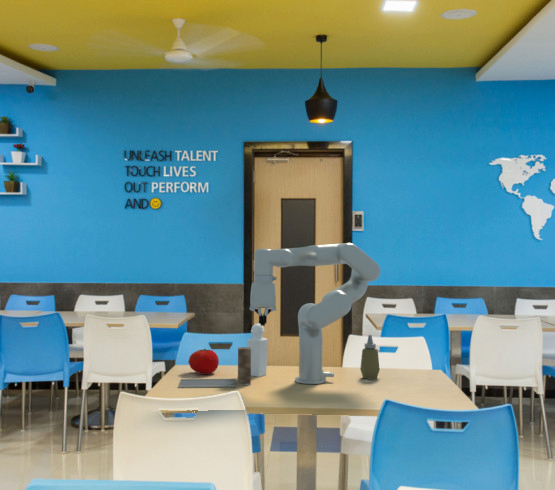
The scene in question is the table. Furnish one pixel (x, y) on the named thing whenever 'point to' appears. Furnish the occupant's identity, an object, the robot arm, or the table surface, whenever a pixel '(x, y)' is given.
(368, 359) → the squeeze bottle
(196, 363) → the tomato
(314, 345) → the robot arm
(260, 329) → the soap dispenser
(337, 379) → the table surface
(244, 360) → the walnut block
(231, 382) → the grey rubber mat
